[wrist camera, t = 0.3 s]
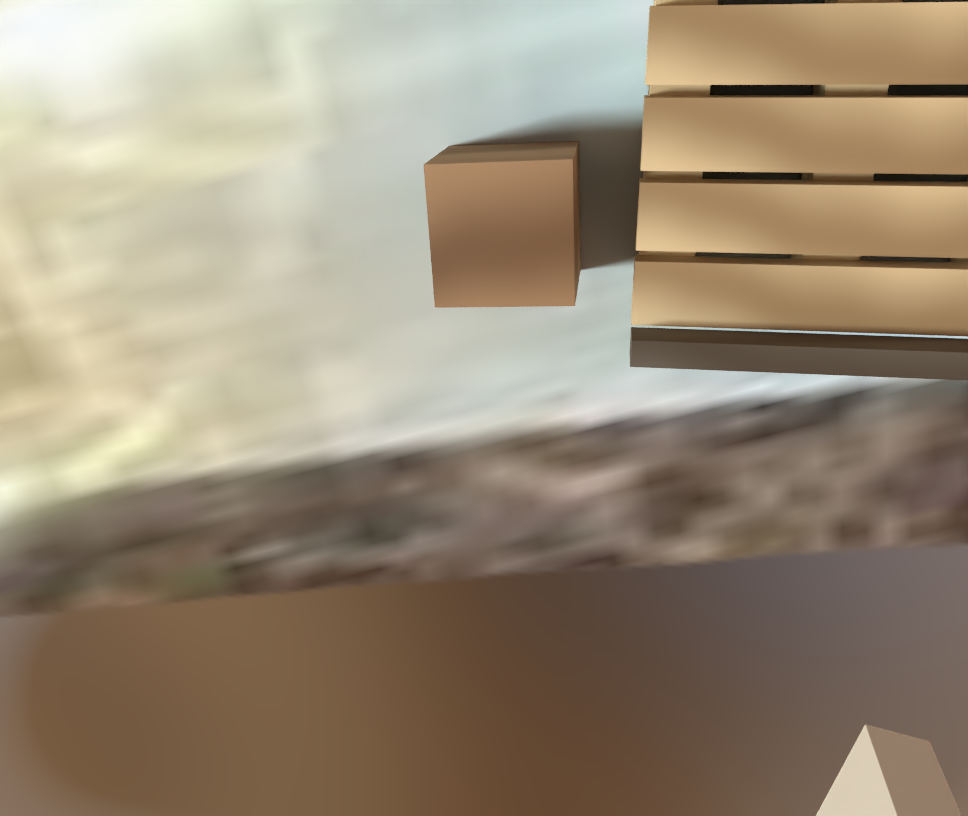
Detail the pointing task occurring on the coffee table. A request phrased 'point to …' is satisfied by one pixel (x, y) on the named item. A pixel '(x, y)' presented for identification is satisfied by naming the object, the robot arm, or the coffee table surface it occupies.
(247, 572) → the coffee table surface
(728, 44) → the pallet dock
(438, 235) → the crate
